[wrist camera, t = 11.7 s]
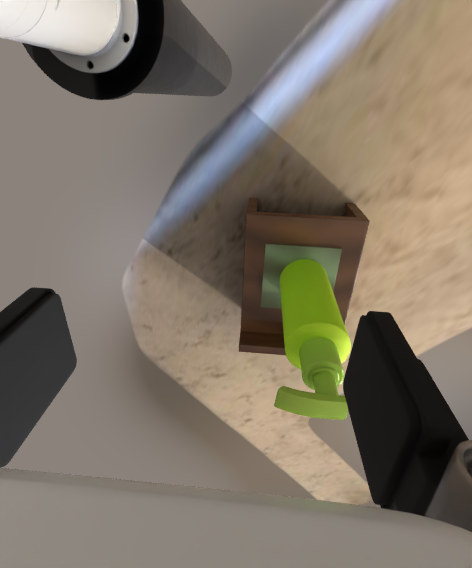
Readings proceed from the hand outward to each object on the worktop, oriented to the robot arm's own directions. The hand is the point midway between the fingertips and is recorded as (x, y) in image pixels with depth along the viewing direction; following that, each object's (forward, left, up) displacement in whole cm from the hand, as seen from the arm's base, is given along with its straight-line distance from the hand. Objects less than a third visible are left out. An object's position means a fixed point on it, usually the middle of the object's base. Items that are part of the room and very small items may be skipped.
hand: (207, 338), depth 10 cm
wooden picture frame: (+14, +7, -36) cm, 40 cm away
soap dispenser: (+13, +7, -29) cm, 33 cm away
